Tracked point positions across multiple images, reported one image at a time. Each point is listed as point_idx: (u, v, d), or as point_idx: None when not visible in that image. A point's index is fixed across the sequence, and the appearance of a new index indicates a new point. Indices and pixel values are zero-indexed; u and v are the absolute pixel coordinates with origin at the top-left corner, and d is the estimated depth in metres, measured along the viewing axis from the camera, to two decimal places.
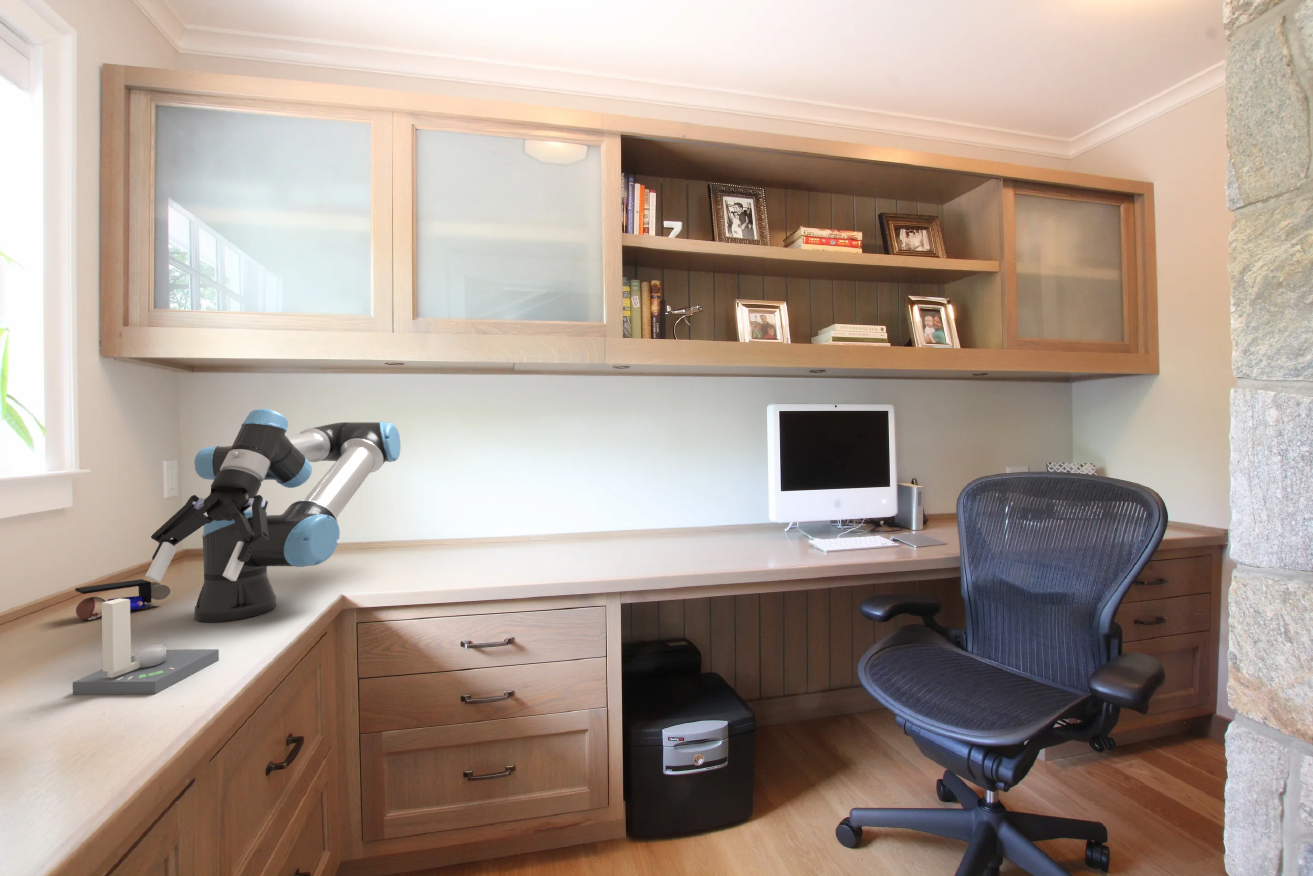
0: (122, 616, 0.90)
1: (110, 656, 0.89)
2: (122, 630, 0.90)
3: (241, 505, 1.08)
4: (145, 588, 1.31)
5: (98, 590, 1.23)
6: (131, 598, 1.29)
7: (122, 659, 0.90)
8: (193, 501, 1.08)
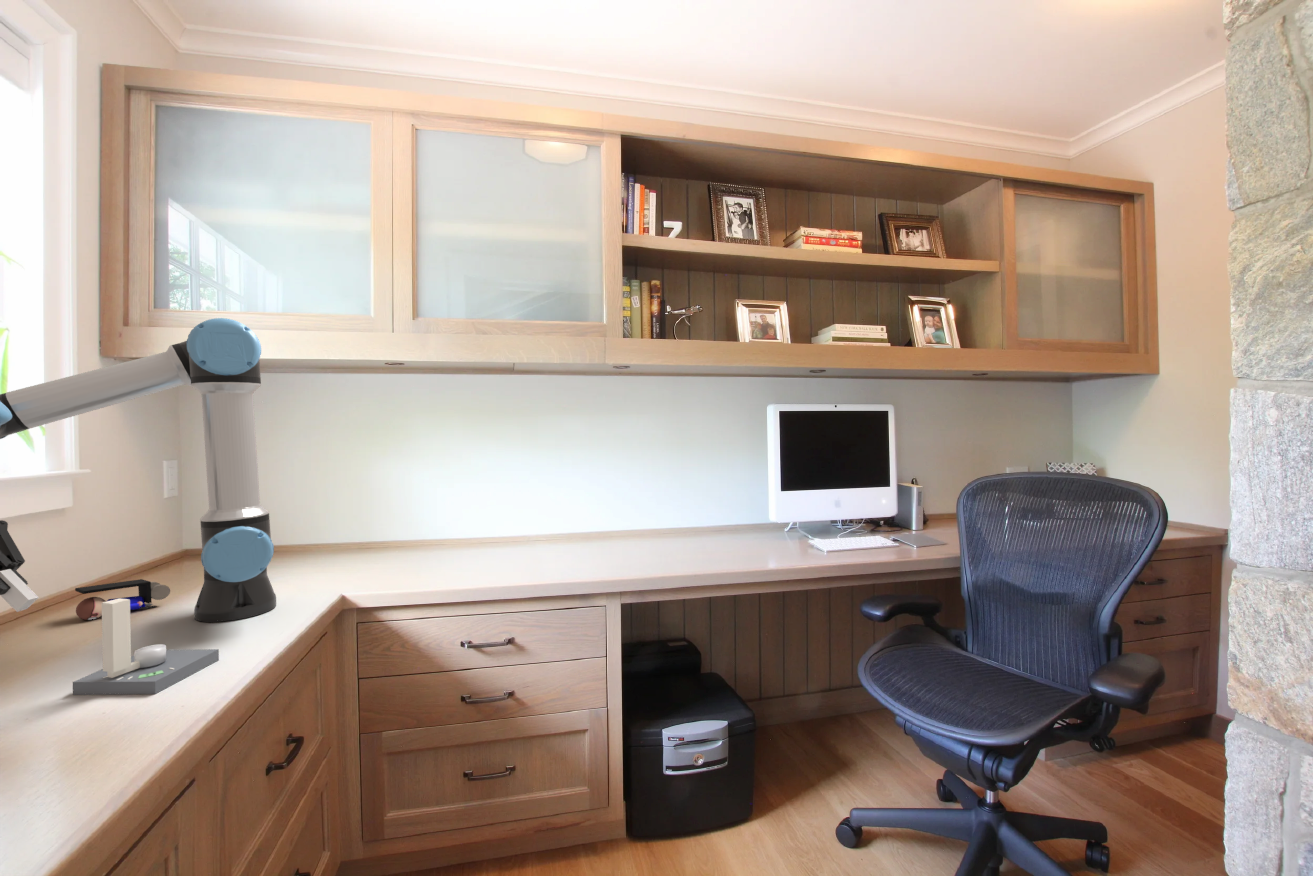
0: (122, 616, 0.90)
1: (110, 656, 0.89)
2: (122, 630, 0.90)
3: None
4: (145, 588, 1.31)
5: (98, 590, 1.23)
6: (131, 598, 1.29)
7: (122, 659, 0.90)
8: None
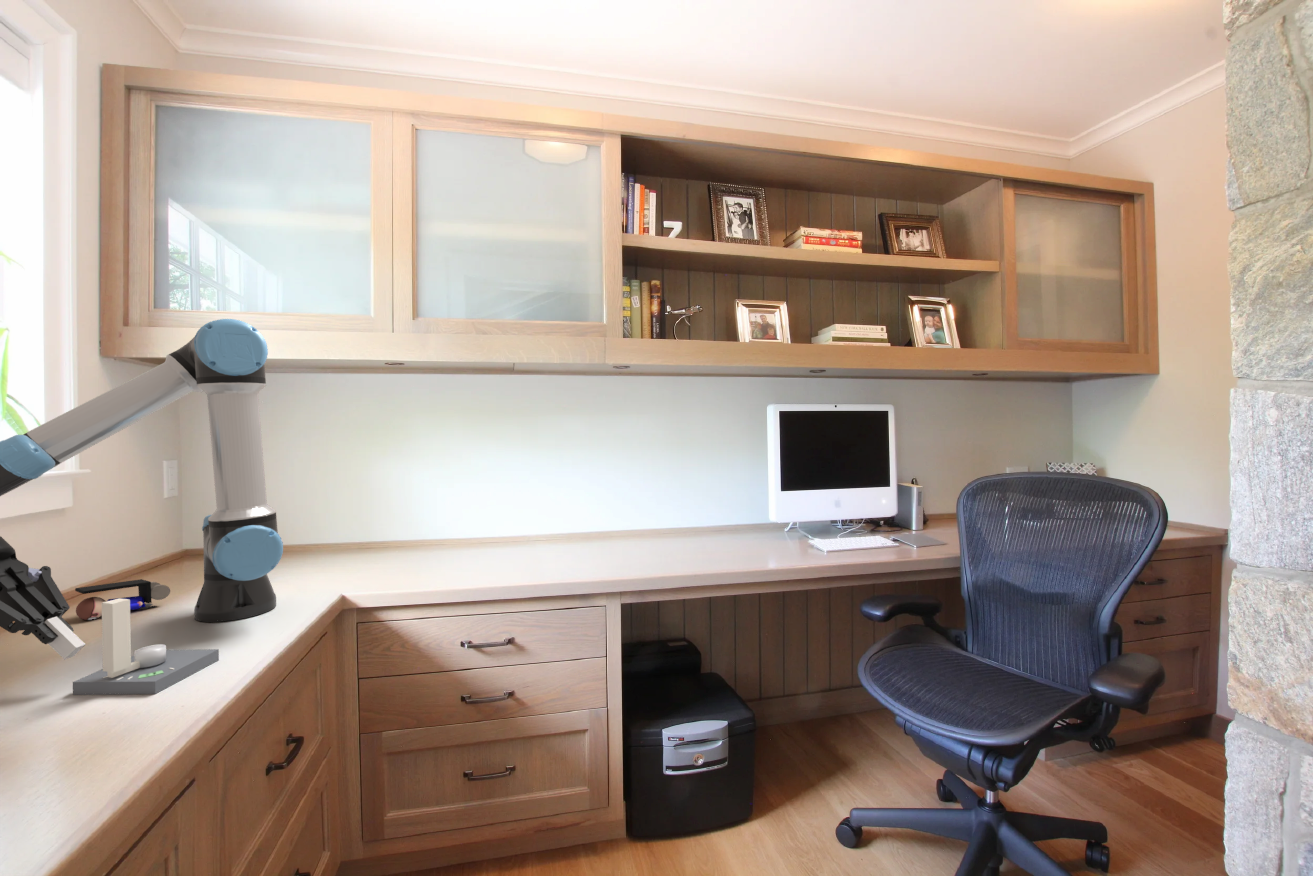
0: (122, 616, 0.90)
1: (110, 656, 0.89)
2: (122, 630, 0.90)
3: None
4: (145, 588, 1.31)
5: (98, 590, 1.23)
6: (131, 598, 1.29)
7: (122, 659, 0.90)
8: None
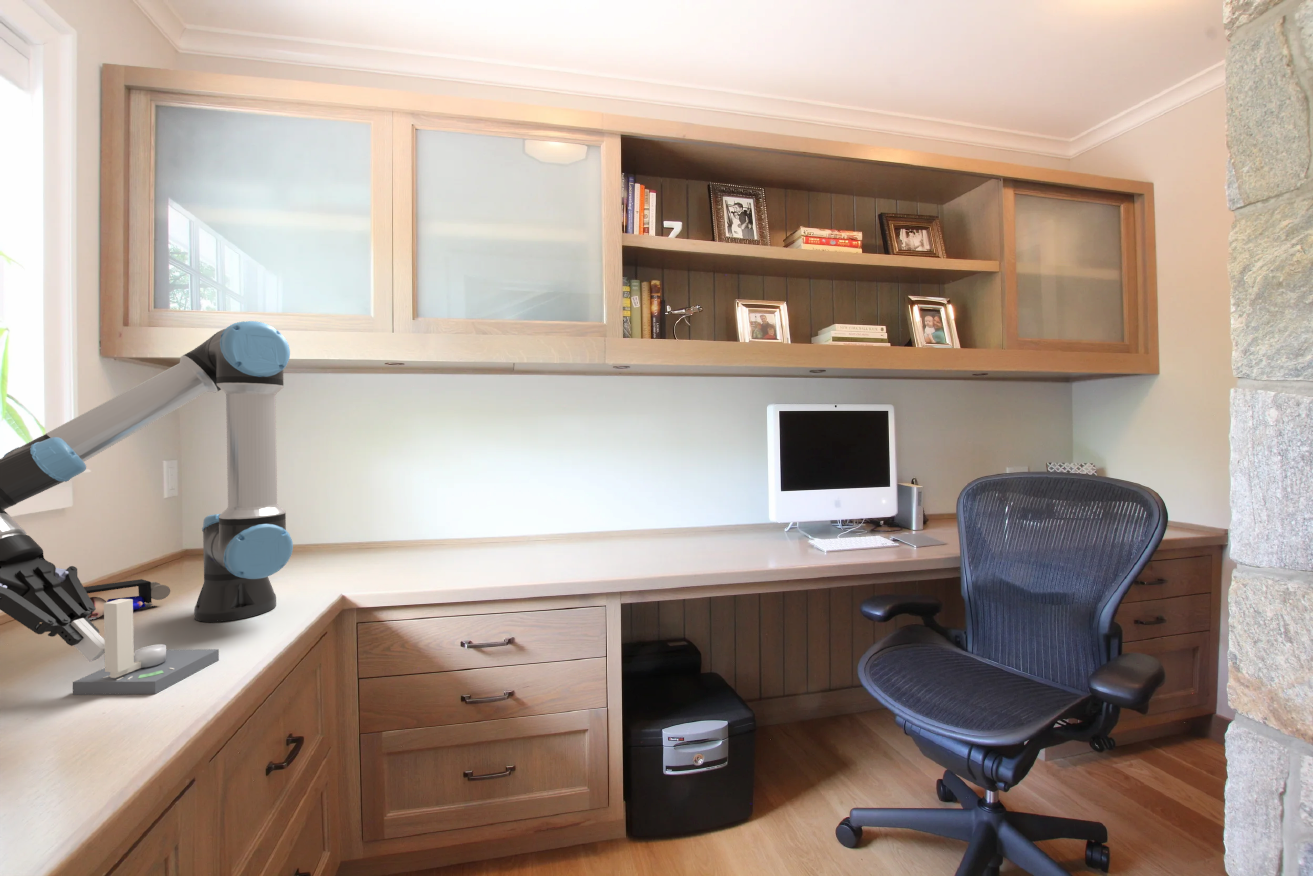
0: (125, 616, 0.90)
1: (114, 656, 0.89)
2: (125, 630, 0.90)
3: None
4: (145, 588, 1.31)
5: (98, 590, 1.23)
6: (131, 598, 1.29)
7: (125, 659, 0.90)
8: None
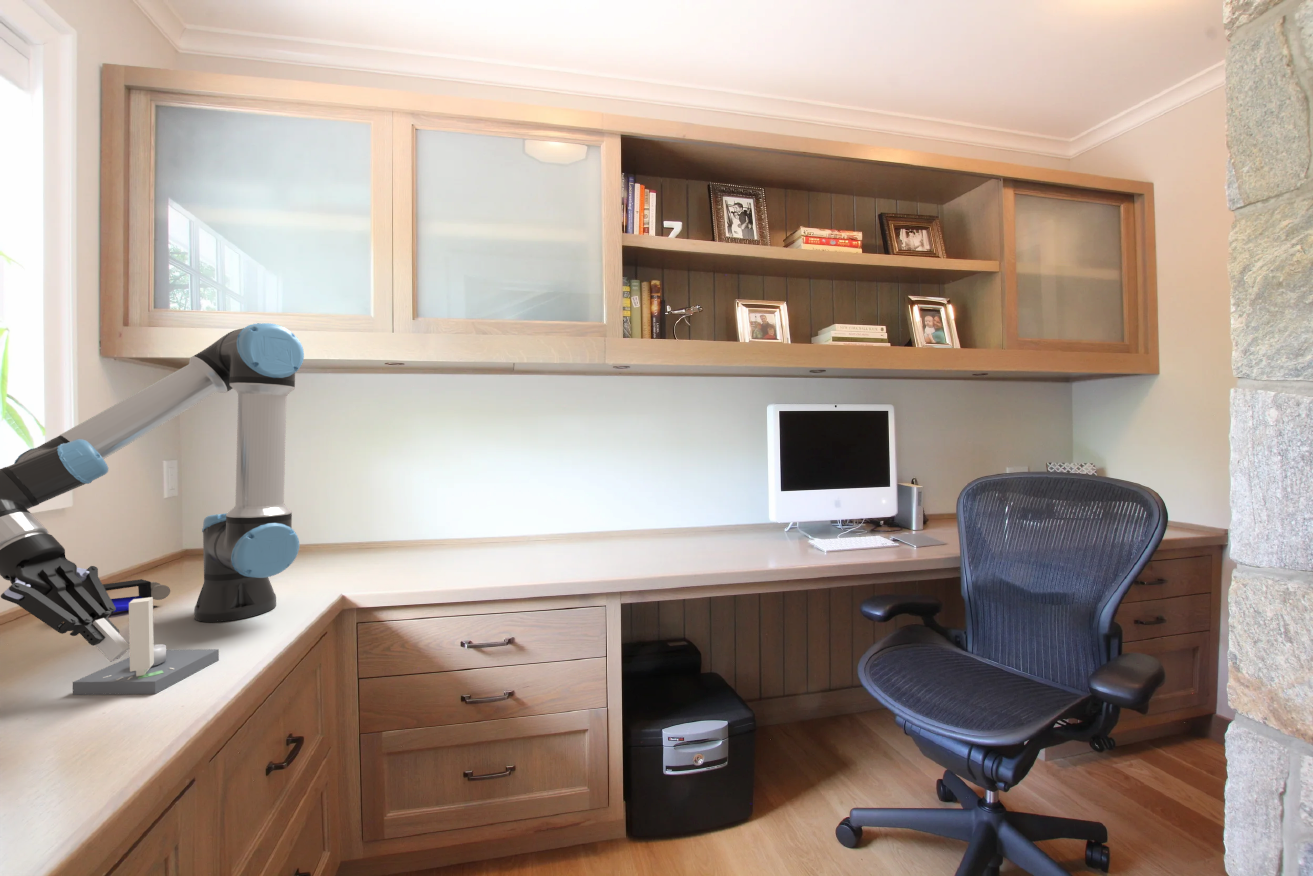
0: (151, 613, 0.91)
1: (144, 653, 0.90)
2: (151, 627, 0.92)
3: None
4: (145, 588, 1.31)
5: None
6: (131, 598, 1.29)
7: (151, 655, 0.92)
8: None
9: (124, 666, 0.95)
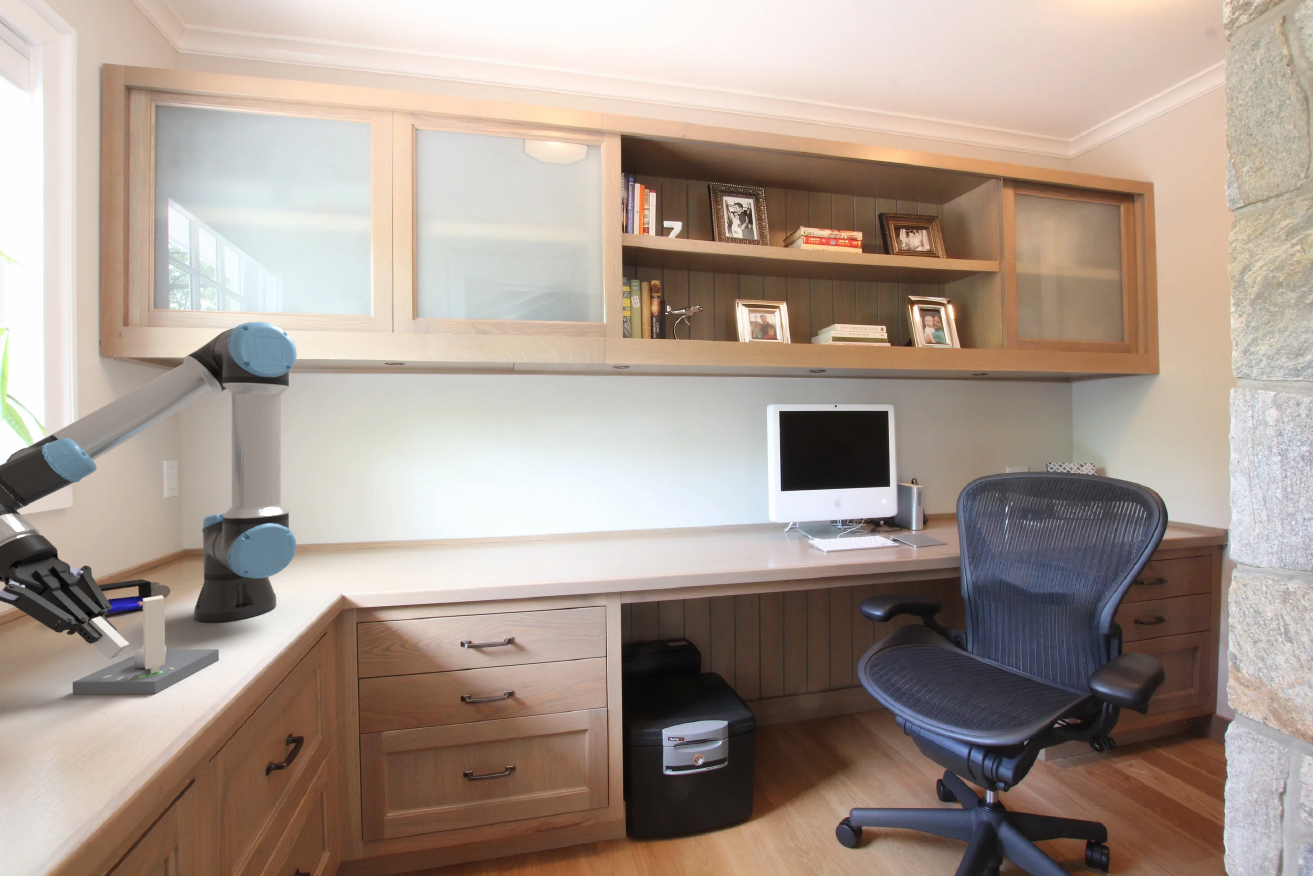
0: None
1: (159, 650, 0.91)
2: None
3: None
4: (145, 588, 1.31)
5: None
6: (131, 598, 1.29)
7: None
8: None
9: (124, 666, 0.95)
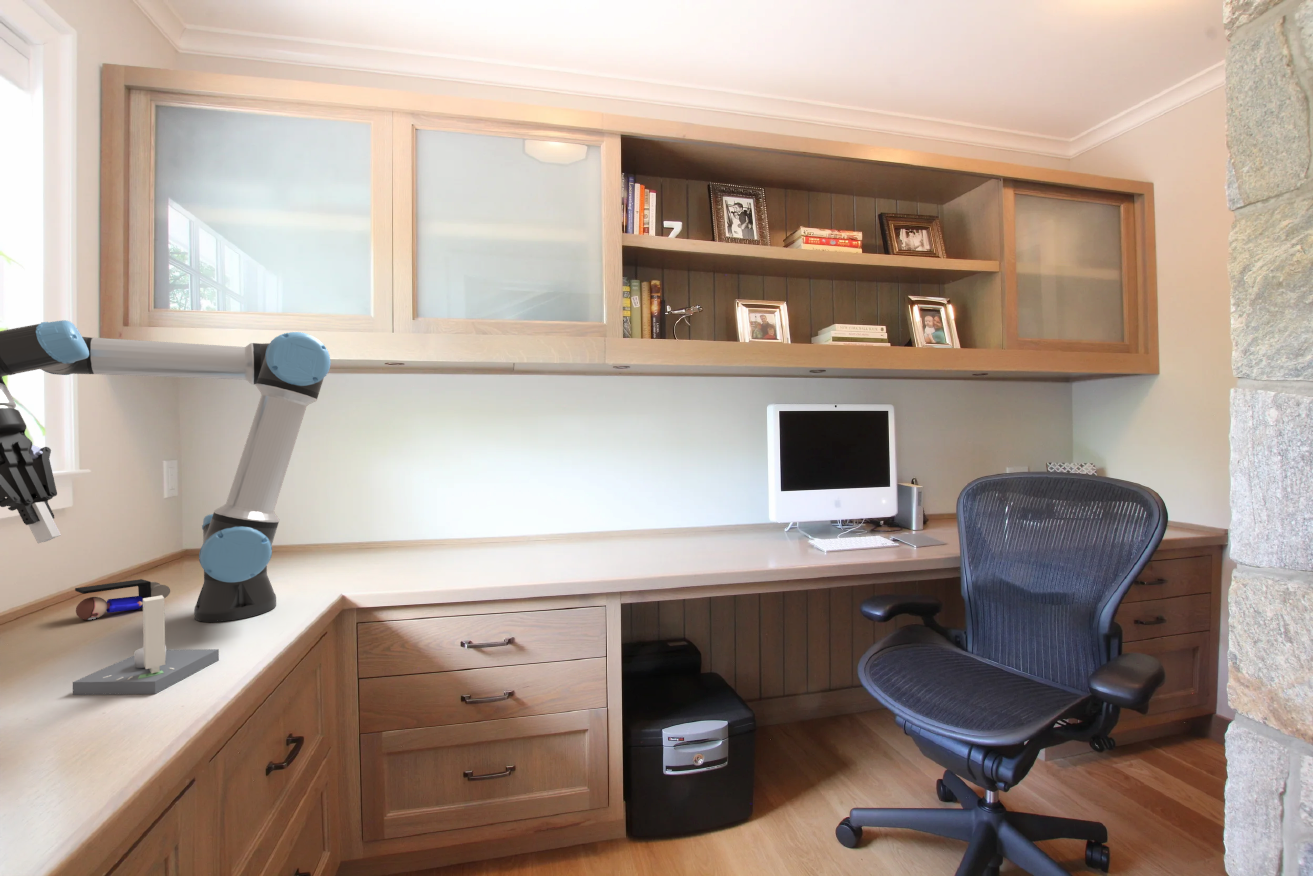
0: None
1: (160, 650, 0.91)
2: None
3: None
4: (145, 588, 1.31)
5: (98, 590, 1.23)
6: (131, 598, 1.29)
7: None
8: None
9: (124, 666, 0.95)
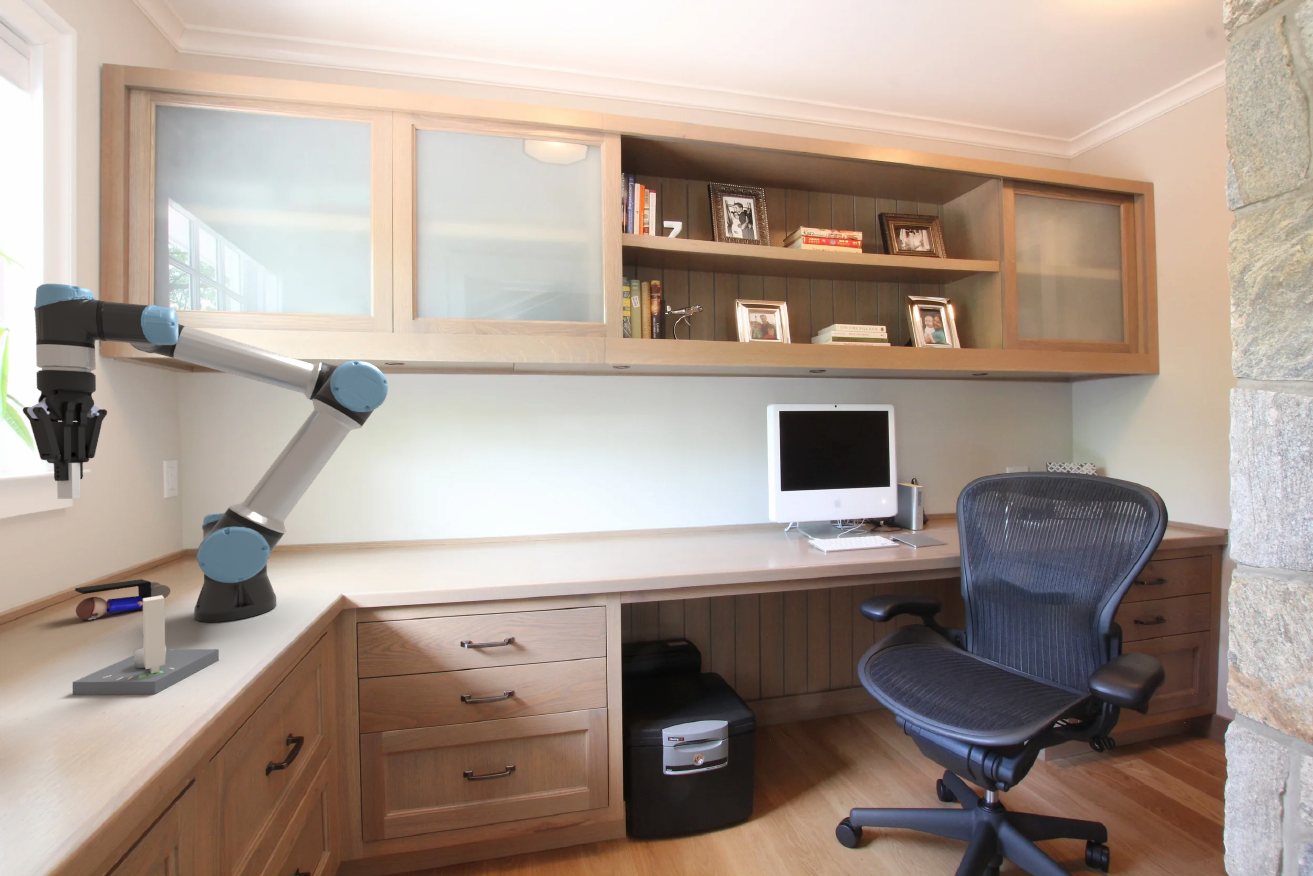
0: None
1: (160, 650, 0.91)
2: None
3: None
4: (145, 588, 1.31)
5: (98, 590, 1.23)
6: (131, 598, 1.29)
7: None
8: None
9: (124, 666, 0.95)
